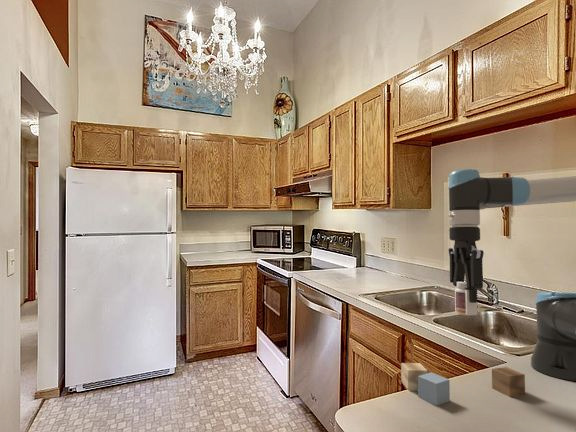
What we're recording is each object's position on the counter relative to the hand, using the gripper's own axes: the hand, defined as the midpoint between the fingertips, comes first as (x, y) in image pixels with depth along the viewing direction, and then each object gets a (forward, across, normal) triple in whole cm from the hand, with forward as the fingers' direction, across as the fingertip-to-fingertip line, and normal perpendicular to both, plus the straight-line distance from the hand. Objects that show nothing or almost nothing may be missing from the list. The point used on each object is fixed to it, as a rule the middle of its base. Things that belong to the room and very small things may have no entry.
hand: (465, 312), depth 93 cm
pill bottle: (+1, 0, 0) cm, 1 cm away
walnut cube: (+19, +5, +8) cm, 21 cm away
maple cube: (+19, +2, -15) cm, 24 cm away
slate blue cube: (+19, +9, -13) cm, 25 cm away
